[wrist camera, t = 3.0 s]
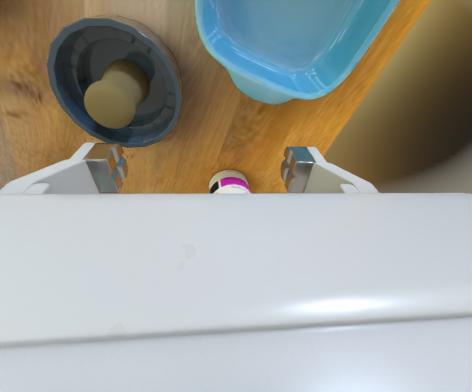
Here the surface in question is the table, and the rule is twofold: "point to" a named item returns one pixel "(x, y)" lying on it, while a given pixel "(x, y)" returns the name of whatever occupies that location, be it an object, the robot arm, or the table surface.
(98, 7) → the table surface
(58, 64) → the bowl
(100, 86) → the olive pawn
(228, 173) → the supplement can
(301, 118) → the table surface
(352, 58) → the casserole dish
